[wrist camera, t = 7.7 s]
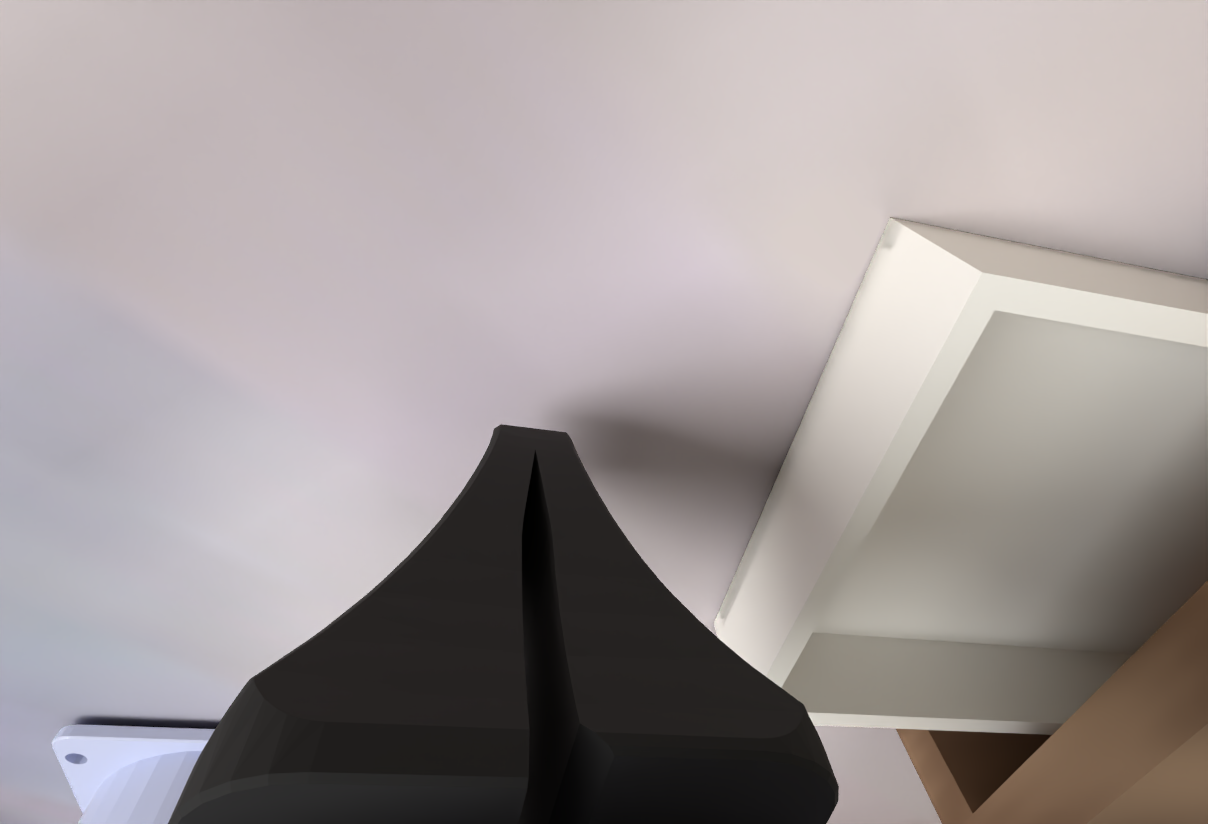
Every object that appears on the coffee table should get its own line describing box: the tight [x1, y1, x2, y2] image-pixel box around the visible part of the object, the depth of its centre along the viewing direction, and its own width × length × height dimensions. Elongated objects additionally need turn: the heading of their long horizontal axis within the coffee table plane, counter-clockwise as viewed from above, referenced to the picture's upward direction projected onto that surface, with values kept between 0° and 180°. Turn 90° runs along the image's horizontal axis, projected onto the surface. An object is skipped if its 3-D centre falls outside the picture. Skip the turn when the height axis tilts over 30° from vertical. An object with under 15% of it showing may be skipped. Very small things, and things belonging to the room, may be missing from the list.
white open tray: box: [714, 217, 1208, 735], centre depth 14 cm, size 11×15×3 cm
